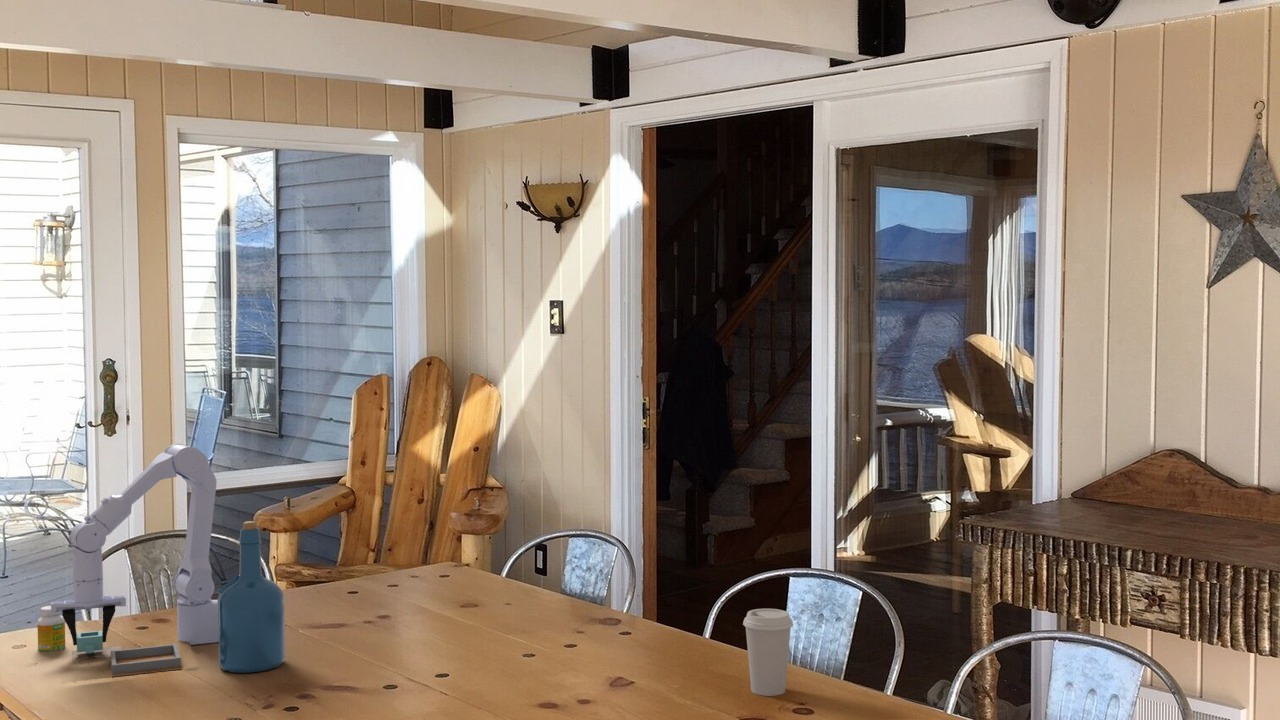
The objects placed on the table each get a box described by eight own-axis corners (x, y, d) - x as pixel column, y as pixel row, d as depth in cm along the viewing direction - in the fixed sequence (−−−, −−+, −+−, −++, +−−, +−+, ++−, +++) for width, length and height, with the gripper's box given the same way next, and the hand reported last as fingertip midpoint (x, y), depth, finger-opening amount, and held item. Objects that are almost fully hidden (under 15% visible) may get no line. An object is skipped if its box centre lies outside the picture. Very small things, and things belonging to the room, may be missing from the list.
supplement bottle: (54, 655, 266) (53, 610, 266) (32, 654, 267) (31, 609, 267) (70, 649, 271) (69, 605, 271) (49, 648, 272) (48, 604, 272)
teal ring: (102, 644, 267) (102, 630, 267) (102, 651, 261) (102, 637, 261) (77, 646, 265) (76, 632, 265) (76, 654, 259) (76, 640, 259)
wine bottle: (298, 660, 262) (296, 518, 261) (259, 677, 249) (257, 528, 248) (243, 654, 266) (241, 515, 265) (202, 671, 254) (200, 525, 253)
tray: (176, 655, 266) (176, 643, 266) (181, 669, 255) (180, 657, 255) (110, 662, 260) (110, 650, 260) (112, 677, 249) (111, 665, 249)
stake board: (122, 649, 271) (122, 633, 271) (123, 659, 263) (123, 643, 263) (71, 654, 267) (71, 638, 267) (71, 665, 259) (71, 648, 259)
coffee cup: (739, 684, 242) (739, 608, 242) (787, 682, 243) (787, 606, 243) (747, 699, 233) (747, 620, 232) (798, 697, 234) (797, 618, 233)
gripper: (50, 586, 257) (51, 651, 257) (125, 579, 263) (127, 643, 263) (50, 579, 263) (52, 643, 264) (124, 573, 269) (126, 635, 270)
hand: (89, 642), depth 264 cm, fingers closed on teal ring, 5 cm apart
